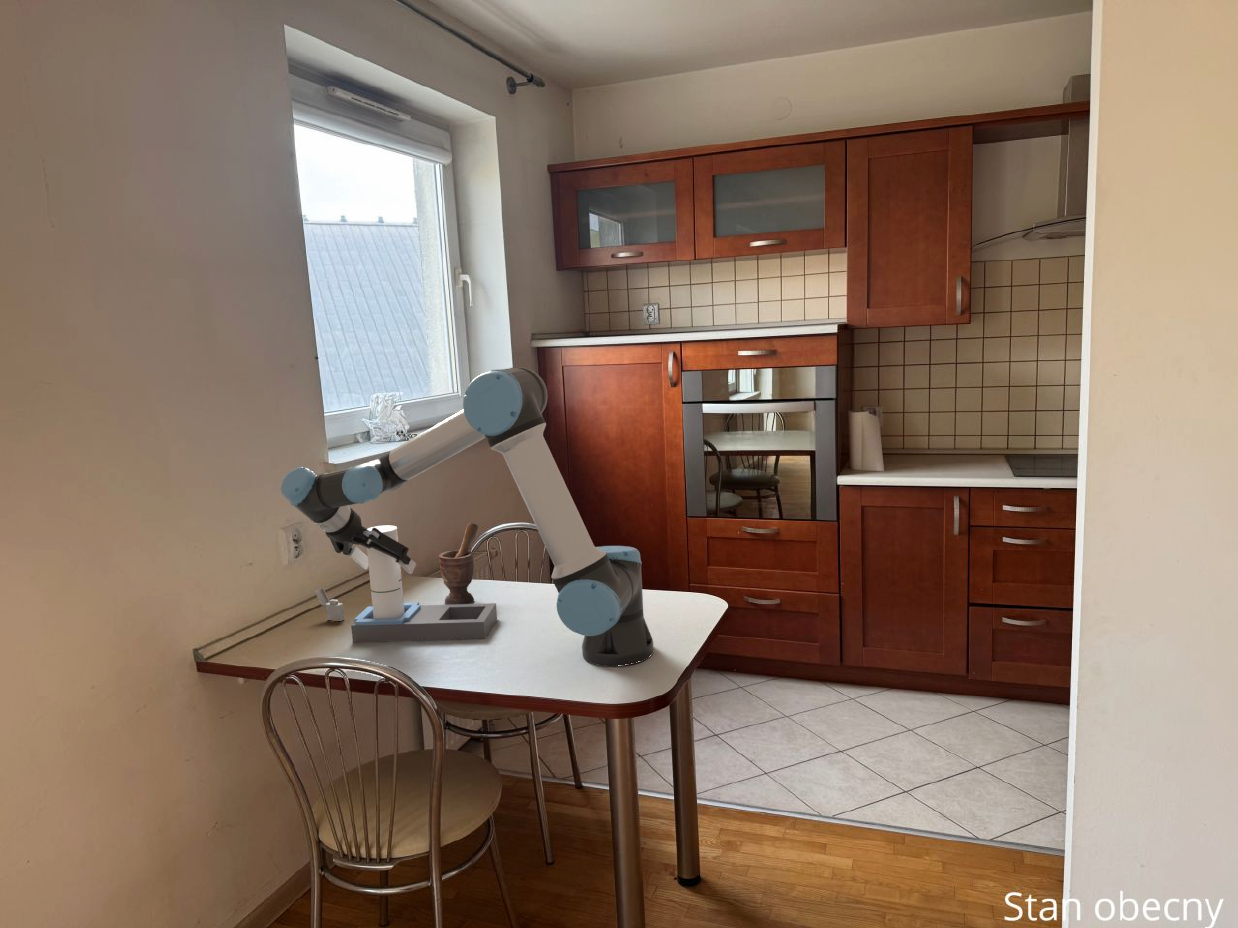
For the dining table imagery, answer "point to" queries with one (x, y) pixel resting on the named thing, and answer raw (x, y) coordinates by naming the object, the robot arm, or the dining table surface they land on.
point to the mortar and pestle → (459, 569)
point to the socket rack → (427, 623)
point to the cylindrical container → (385, 579)
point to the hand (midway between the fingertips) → (390, 566)
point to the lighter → (330, 606)
